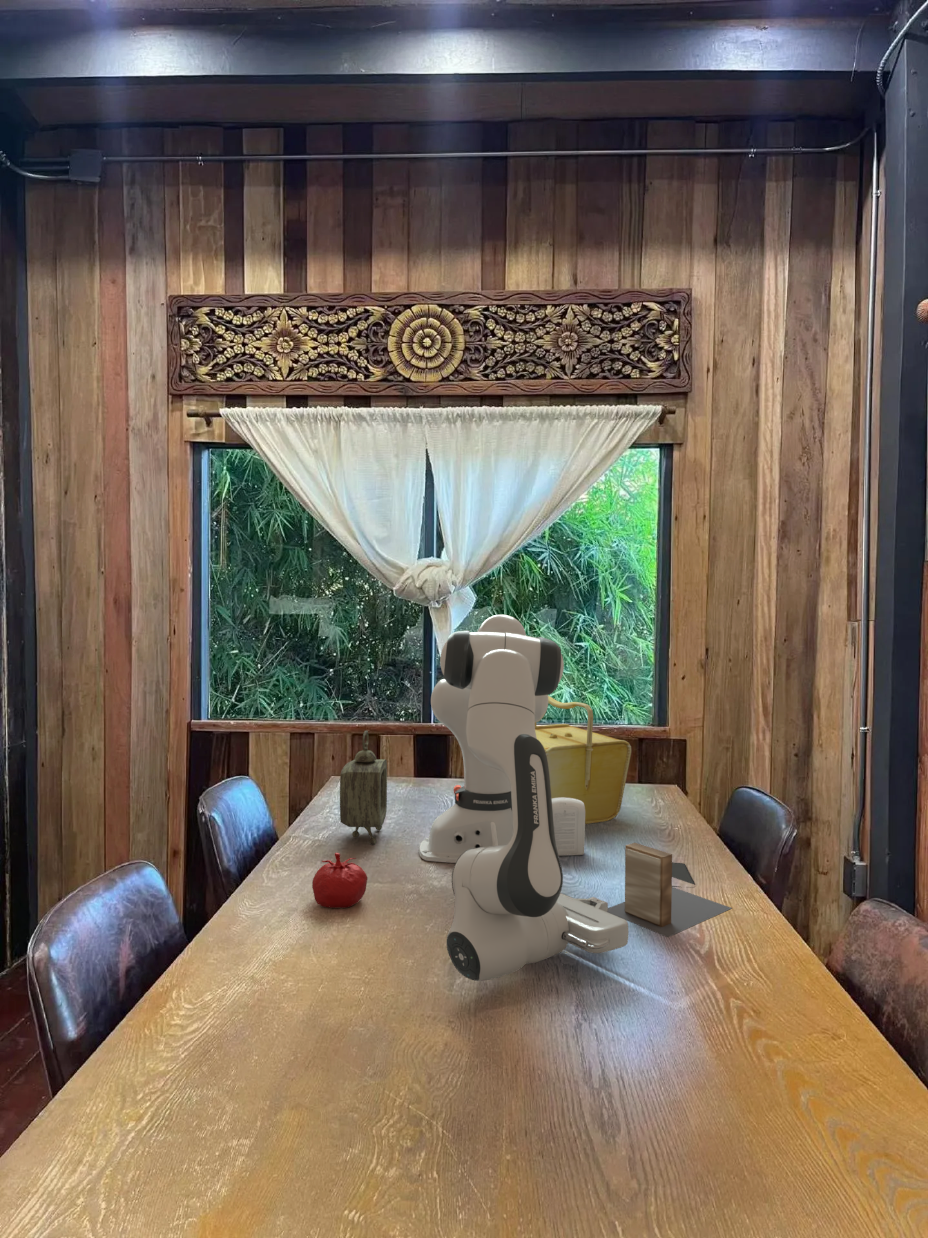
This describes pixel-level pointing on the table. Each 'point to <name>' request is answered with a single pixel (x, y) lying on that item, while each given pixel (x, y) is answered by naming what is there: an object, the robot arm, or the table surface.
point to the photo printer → (569, 825)
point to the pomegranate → (339, 884)
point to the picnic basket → (585, 765)
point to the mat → (677, 913)
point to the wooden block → (648, 884)
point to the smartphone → (681, 873)
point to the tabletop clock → (364, 792)
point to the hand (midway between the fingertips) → (601, 904)
